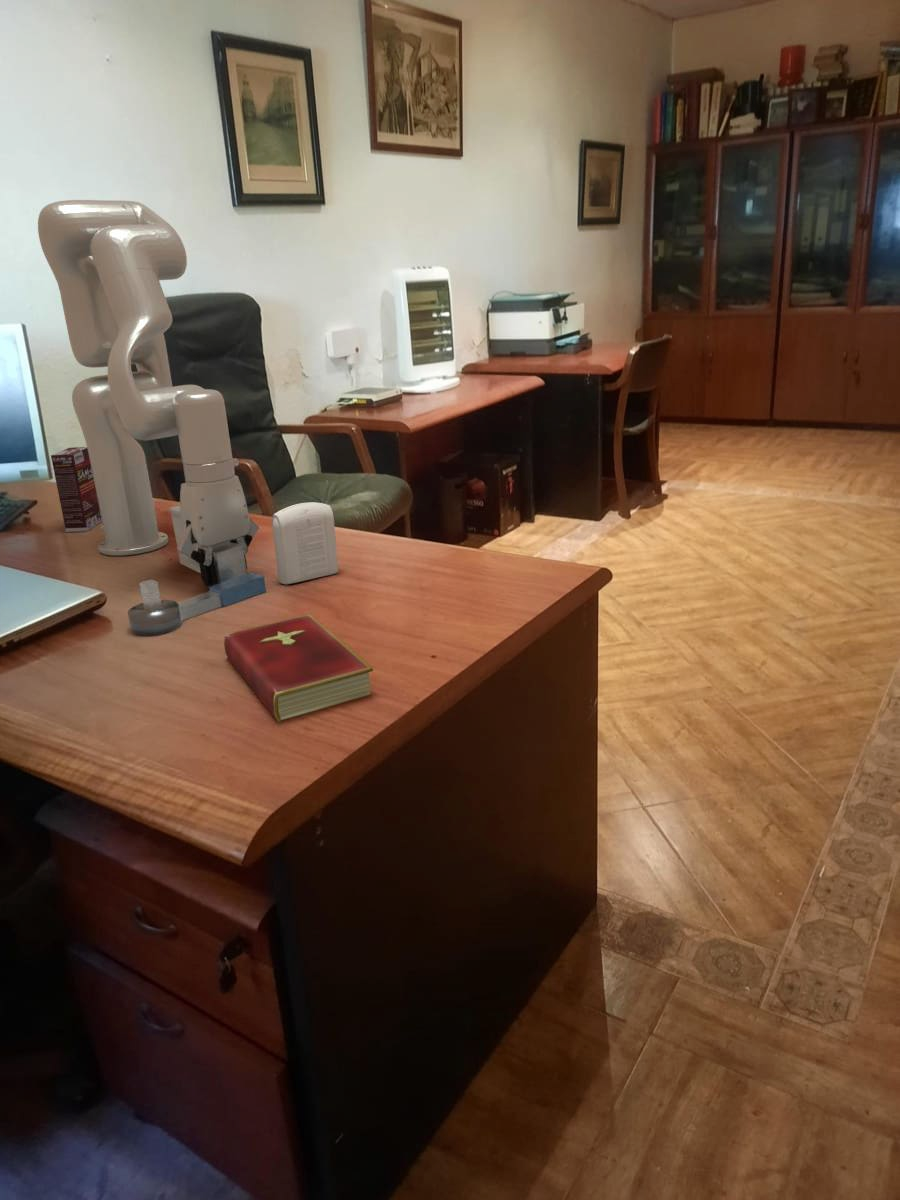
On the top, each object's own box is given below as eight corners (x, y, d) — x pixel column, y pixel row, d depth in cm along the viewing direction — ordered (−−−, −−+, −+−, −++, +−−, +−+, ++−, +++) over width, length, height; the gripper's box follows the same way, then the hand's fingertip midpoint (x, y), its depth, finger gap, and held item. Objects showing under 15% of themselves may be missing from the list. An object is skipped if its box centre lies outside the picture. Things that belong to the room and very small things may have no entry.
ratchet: (121, 629, 127) (113, 584, 125) (246, 585, 143) (241, 545, 140) (147, 639, 123) (139, 594, 121) (273, 593, 138) (268, 552, 136)
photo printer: (331, 567, 149) (324, 495, 145) (343, 573, 146) (335, 500, 141) (274, 581, 144) (265, 507, 140) (285, 587, 141) (276, 512, 136)
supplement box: (88, 531, 179) (72, 454, 174) (65, 533, 179) (48, 455, 174) (104, 520, 187) (90, 446, 182) (82, 521, 187) (67, 447, 182)
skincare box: (178, 564, 155) (168, 506, 152) (211, 555, 159) (202, 499, 156) (205, 577, 148) (195, 516, 144) (239, 567, 152) (231, 508, 148)
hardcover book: (277, 726, 98) (272, 692, 97) (226, 661, 116) (221, 632, 114) (375, 698, 103) (372, 665, 102) (312, 640, 121) (309, 611, 119)
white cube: (204, 585, 144) (198, 548, 141) (230, 577, 147) (224, 540, 145) (222, 591, 140) (216, 553, 138) (248, 582, 144) (242, 545, 142)
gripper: (240, 459, 145) (254, 563, 152) (147, 480, 134) (167, 592, 140) (268, 463, 141) (281, 571, 147) (174, 485, 129) (193, 601, 135)
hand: (225, 580), depth 144 cm, fingers closed on white cube, 5 cm apart
